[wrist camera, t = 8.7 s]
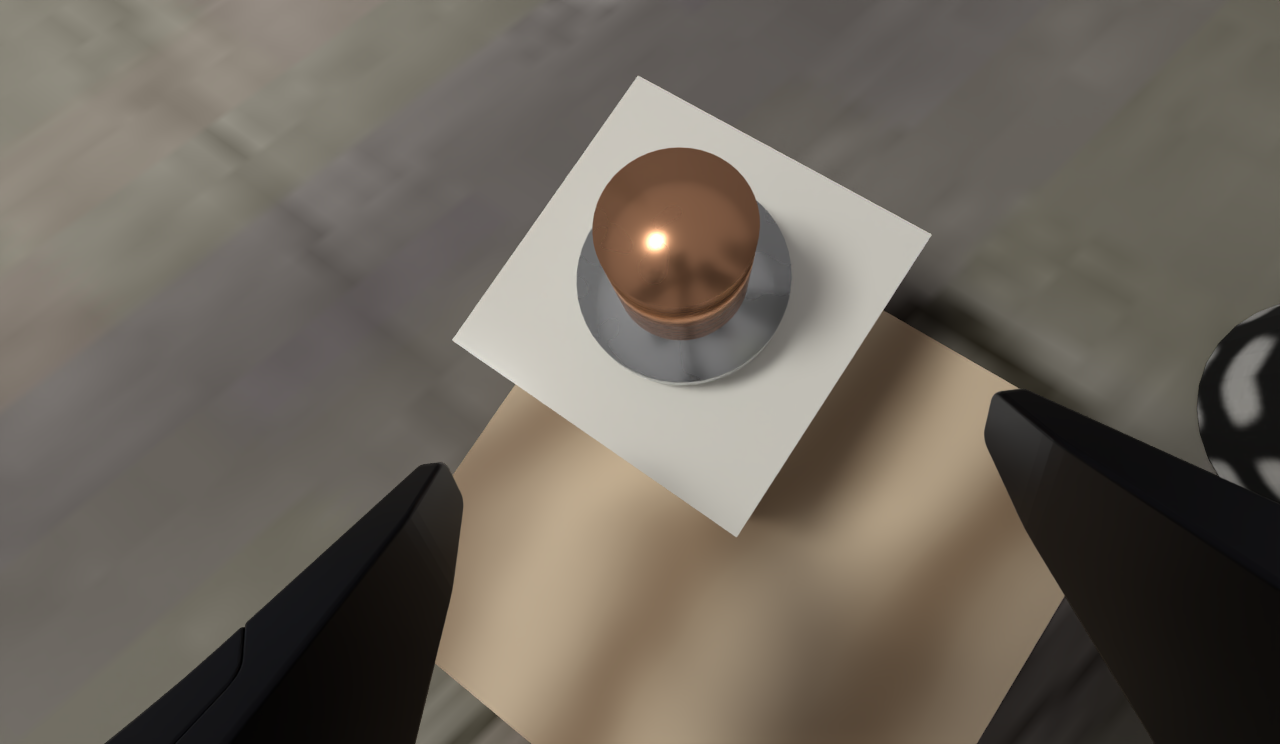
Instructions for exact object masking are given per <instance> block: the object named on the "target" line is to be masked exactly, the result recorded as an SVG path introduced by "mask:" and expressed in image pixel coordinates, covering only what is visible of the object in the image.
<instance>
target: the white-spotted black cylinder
mask: <svg viewBox="0 0 1280 744" xmlns="http://www.w3.org/2000/svg"><path fill="white" fill-rule="evenodd" d="M1197 412H1198V420H1199V428H1200V434H1201V437H1202V440H1203V443H1204V446H1205V449H1206V452H1207V455H1208V457H1209V460H1210V461H1211V463H1212V465H1213V467H1214V468H1215V470H1216V472H1217V473H1218V475H1219V477H1221V478H1224V479H1226V480H1228V481H1230V482H1232V483H1235V484H1237V485H1239V486H1241V487H1243V488H1246V489H1248V490H1250V491H1252V492H1254V493H1257V494H1259V495H1261V496H1263V497H1266V498H1268V499H1270V500H1272V501H1274V502H1277V503H1279V504H1280V304H1278V305H1275V306H1273V307H1270V308H1268V309H1265V310H1263V311H1260V312H1257V313H1256V314H1254V315H1252V316H1251V317H1249V318H1248V319H1246V320H1245V321H1243V322H1242V323H1240V324H1238V325H1237V326H1236V327H1235V328H1234V329H1233V330H1232V331H1231V332H1230V333H1229V334H1228V335H1227V336H1226V337H1225V338H1224V339H1223V340H1222V341H1221V342H1220V343H1219V344H1218V346H1217V347H1216V349H1215V350H1214V352H1213V354H1212V355H1211V357H1210V358H1209V360H1208V362H1207V364H1206V367H1205V370H1204V373H1203V376H1202V379H1201V382H1200V385H1199V394H1198V405H1197Z"/></svg>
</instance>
